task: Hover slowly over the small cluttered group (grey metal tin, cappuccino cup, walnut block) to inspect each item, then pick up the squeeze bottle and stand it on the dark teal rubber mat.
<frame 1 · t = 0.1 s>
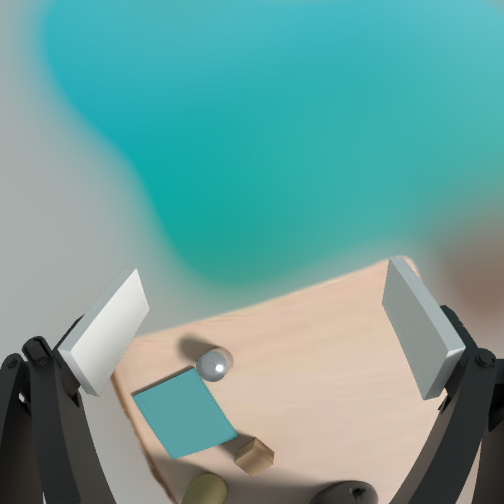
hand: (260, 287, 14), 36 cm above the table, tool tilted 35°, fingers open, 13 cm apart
walnut block: (256, 451, 44), on the table
grey metal tin: (219, 360, 48), on the table
teal mat: (183, 416, 47), on the table
squeeze bottle: (212, 482, 43), on the table
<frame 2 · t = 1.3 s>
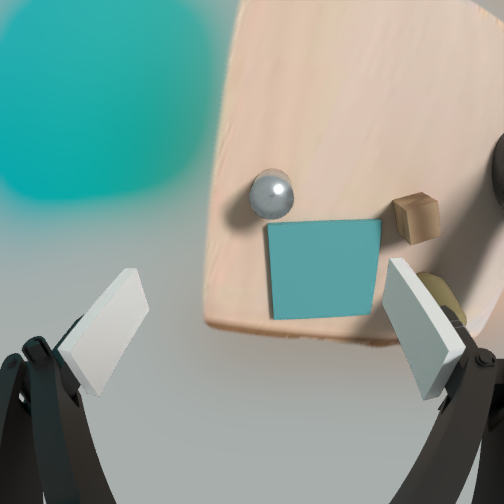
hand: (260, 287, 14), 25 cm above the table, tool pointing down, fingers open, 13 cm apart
walnut block: (409, 211, 36), on the table
grey metal tin: (272, 187, 37), on the table
teal mat: (324, 271, 41), on the table
squeeze bottle: (419, 285, 41), on the table
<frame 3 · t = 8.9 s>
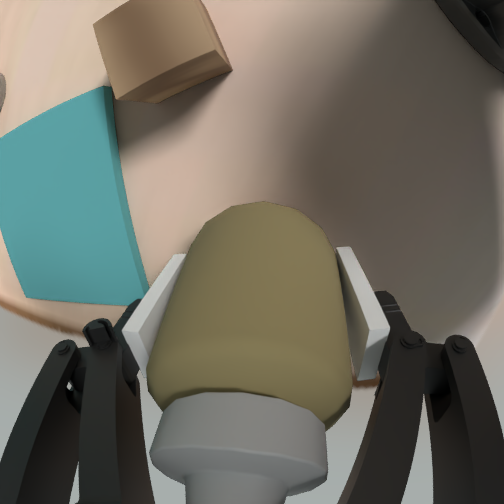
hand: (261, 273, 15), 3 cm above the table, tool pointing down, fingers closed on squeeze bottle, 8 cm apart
walnut block: (180, 53, 13), on the table
teal mat: (51, 212, 18), on the table
squeeze bottle: (264, 245, 18), on the table, touching gripper
when the fingers open (6 cm above the table, at t = 16.2 s): squeeze bottle drops 1 cm, resting on teal mat.
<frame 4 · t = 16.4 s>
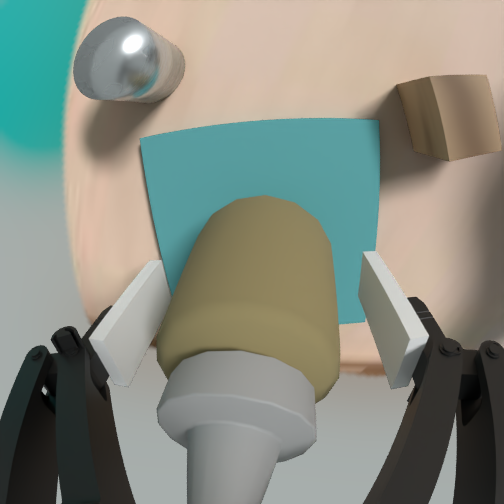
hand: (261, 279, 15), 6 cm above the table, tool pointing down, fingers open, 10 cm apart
walnut block: (432, 113, 15), on the table
grey metal tin: (152, 70, 16), on the table
teal mat: (266, 233, 20), on the table
squeeze bottle: (266, 238, 20), point 1 cm above the table, touching teal mat
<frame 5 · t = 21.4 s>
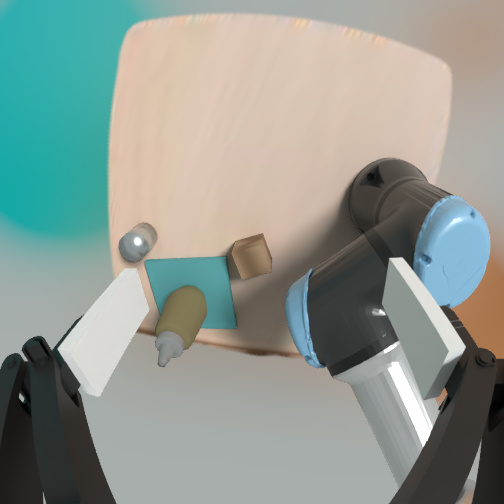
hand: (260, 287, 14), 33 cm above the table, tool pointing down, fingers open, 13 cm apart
walnut block: (253, 249, 49), on the table
grey metal tin: (145, 235, 50), on the table
teal mat: (192, 294, 54), on the table
squeeze bottle: (191, 296, 54), point 1 cm above the table, touching teal mat
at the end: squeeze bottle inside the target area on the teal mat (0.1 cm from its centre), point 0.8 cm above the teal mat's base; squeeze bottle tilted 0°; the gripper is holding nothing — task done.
